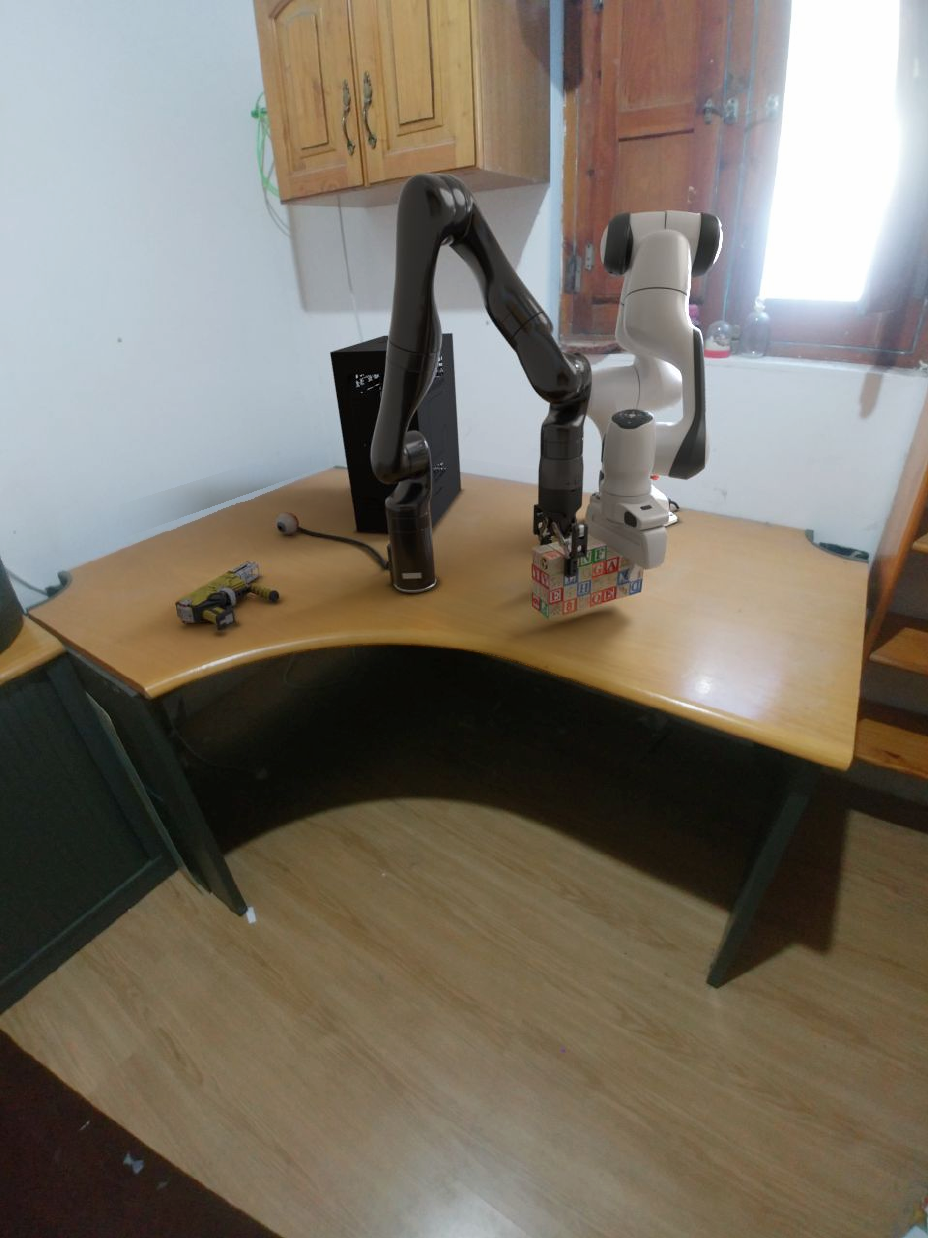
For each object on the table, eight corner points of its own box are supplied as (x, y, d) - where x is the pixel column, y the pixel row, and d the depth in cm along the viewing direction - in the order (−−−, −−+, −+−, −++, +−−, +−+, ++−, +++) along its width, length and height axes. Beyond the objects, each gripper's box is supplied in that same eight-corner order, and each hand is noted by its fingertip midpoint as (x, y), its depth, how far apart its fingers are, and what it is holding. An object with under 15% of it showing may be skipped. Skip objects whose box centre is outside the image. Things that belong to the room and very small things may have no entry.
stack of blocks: (621, 580, 123) (627, 523, 117) (641, 593, 118) (648, 534, 112) (530, 605, 116) (531, 546, 110) (548, 620, 111) (549, 559, 105)
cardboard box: (428, 534, 159) (412, 349, 137) (356, 531, 164) (329, 352, 141) (461, 489, 191) (452, 333, 168) (400, 488, 195) (384, 335, 173)
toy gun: (300, 570, 137) (245, 558, 141) (232, 617, 117) (169, 602, 121) (302, 588, 139) (247, 576, 143) (235, 638, 119) (173, 622, 123)
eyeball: (273, 537, 164) (268, 516, 161) (287, 528, 169) (282, 508, 166) (291, 539, 161) (286, 518, 158) (305, 530, 166) (301, 510, 163)
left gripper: (520, 474, 107) (520, 558, 115) (565, 496, 95) (561, 588, 103) (556, 467, 109) (554, 550, 117) (604, 487, 98) (598, 578, 106)
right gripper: (577, 491, 118) (574, 556, 125) (646, 524, 101) (639, 597, 108) (604, 486, 120) (600, 550, 127) (676, 517, 103) (667, 589, 110)
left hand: (558, 567), depth 110 cm, fingers open, 8 cm apart
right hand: (618, 572), depth 117 cm, fingers closed on stack of blocks, 6 cm apart
